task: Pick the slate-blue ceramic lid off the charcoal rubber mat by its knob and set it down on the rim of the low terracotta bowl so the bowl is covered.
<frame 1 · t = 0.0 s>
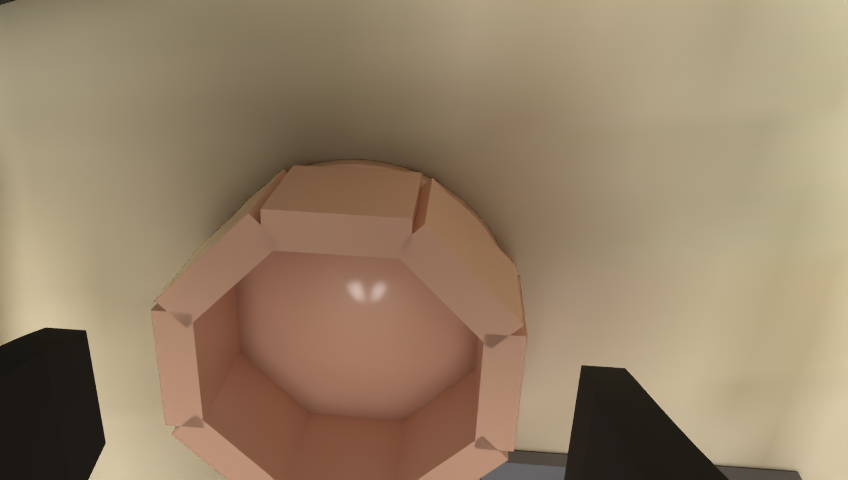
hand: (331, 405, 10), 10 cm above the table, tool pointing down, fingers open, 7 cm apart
bowl: (360, 304, 21), on the table
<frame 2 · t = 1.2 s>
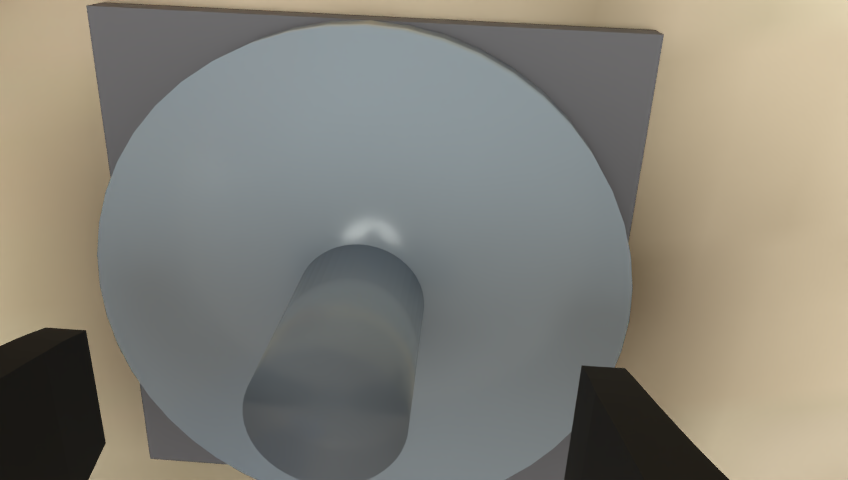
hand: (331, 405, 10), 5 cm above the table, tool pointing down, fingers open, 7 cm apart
mat: (371, 266, 15), on the table
lid: (367, 278, 14), point 1 cm above the table, touching mat
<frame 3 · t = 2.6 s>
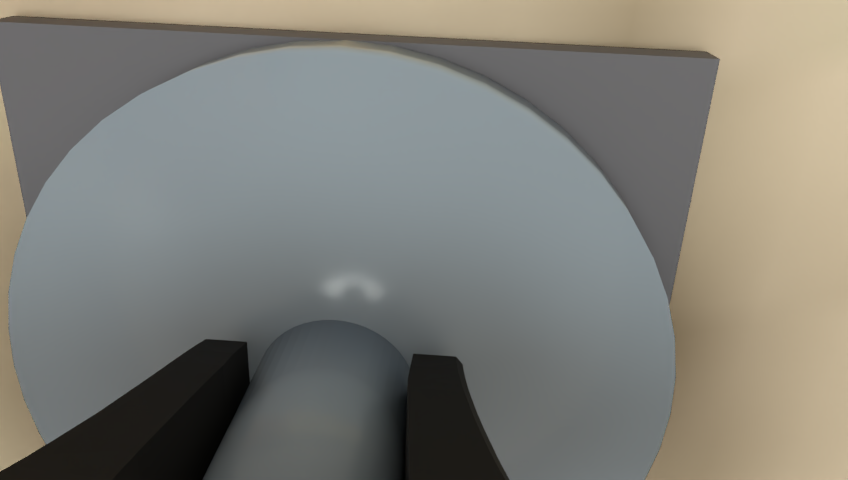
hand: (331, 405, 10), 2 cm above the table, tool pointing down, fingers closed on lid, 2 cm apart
mat: (352, 333, 12), on the table
lid: (346, 352, 12), point 1 cm above the table, touching gripper, mat
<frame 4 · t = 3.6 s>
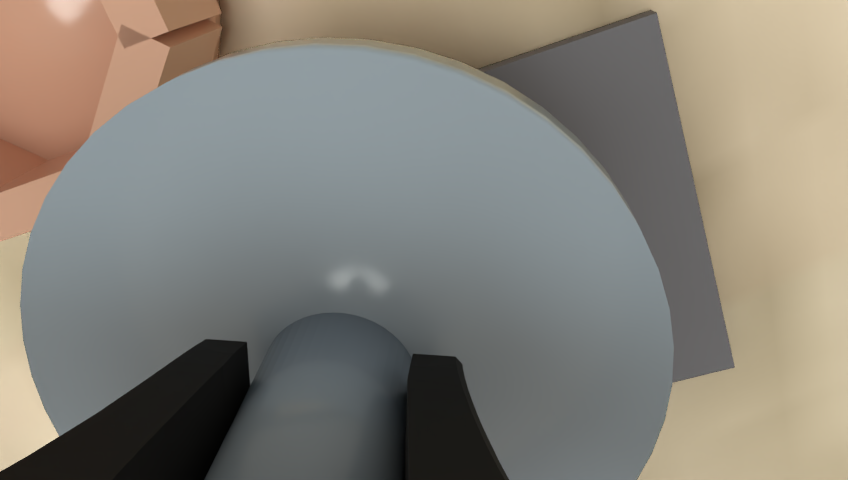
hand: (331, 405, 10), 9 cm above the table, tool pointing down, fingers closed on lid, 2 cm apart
mat: (508, 252, 20), on the table
lid: (350, 344, 12), point 8 cm above the table, touching gripper
bowl: (41, 4, 18), on the table
when the fingers open (7 cm above the table, at t = 4.9 s): lid stays where it is, resting on bowl.
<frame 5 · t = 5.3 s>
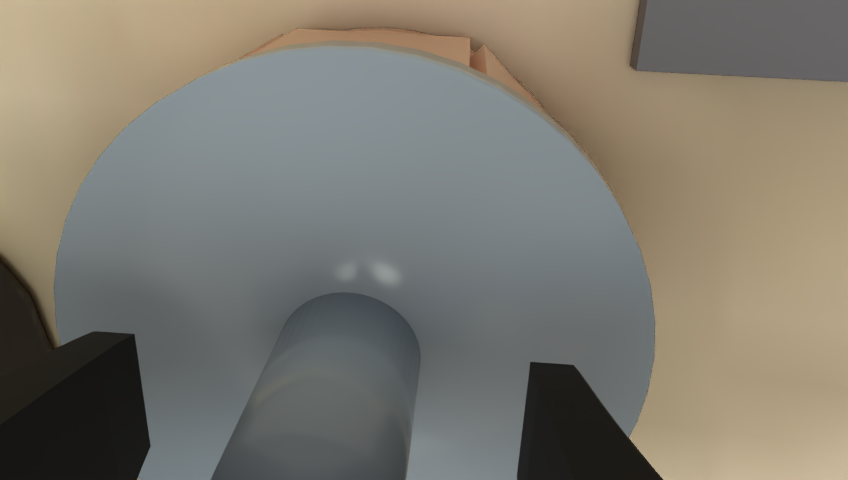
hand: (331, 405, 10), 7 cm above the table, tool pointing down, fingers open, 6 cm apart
lid: (358, 325, 13), point 4 cm above the table, touching bowl
bowl: (383, 229, 16), on the table
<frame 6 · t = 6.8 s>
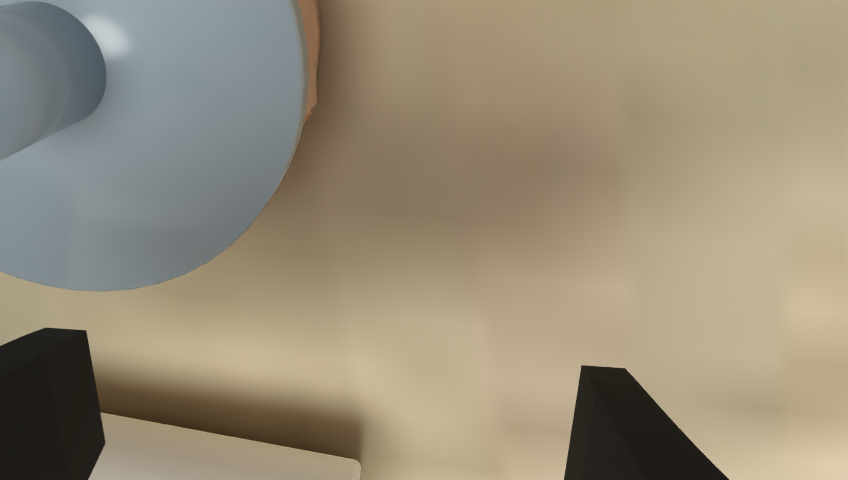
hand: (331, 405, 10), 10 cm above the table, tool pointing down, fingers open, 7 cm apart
lid: (71, 56, 15), point 4 cm above the table, touching bowl
bowl: (148, 23, 19), on the table
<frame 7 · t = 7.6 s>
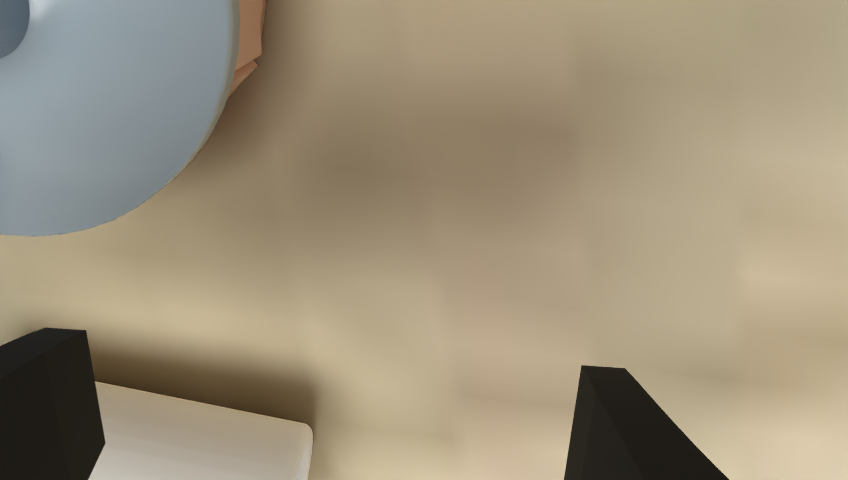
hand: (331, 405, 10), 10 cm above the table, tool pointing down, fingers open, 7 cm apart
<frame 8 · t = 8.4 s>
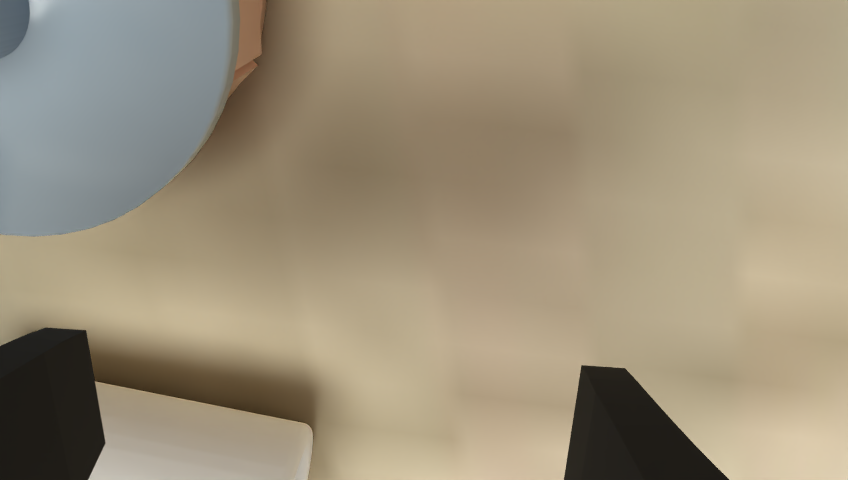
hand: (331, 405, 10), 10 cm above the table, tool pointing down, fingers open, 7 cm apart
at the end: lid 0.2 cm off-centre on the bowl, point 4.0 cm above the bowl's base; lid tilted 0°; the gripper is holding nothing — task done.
